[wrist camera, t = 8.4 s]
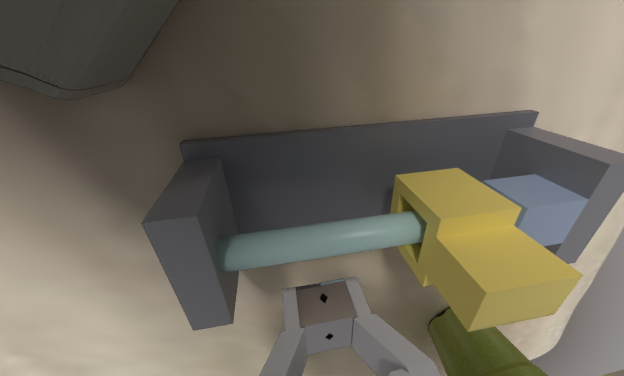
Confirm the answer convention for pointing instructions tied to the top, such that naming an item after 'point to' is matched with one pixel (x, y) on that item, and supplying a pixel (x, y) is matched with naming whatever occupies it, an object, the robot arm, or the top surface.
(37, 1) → the digital clock
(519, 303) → the yellow stepped block
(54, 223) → the top surface
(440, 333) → the plant pot
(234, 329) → the top surface
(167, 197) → the grey rectangular frame
